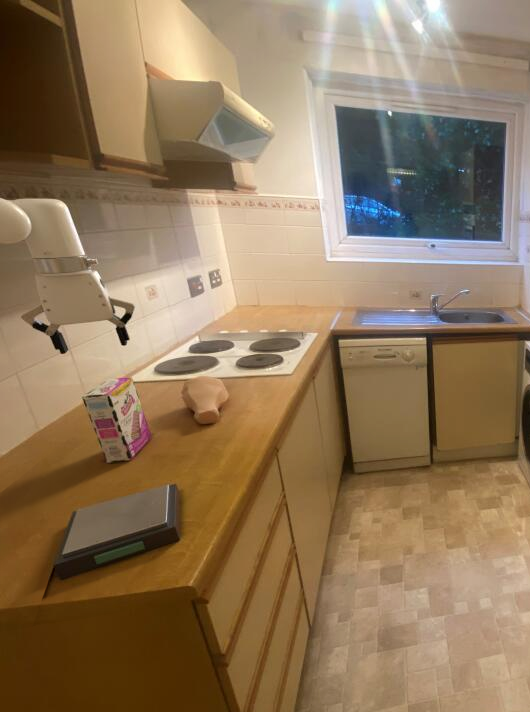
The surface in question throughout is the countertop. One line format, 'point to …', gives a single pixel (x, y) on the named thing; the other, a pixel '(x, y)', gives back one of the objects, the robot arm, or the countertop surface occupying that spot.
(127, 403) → the candy bar box
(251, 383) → the countertop surface
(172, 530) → the scale
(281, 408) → the countertop surface
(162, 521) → the scale pan
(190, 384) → the squash
